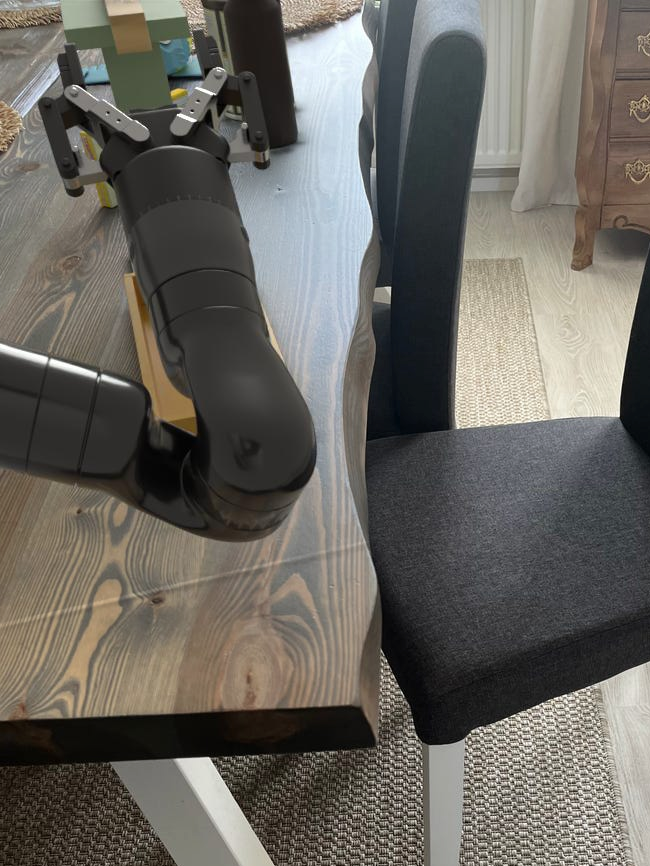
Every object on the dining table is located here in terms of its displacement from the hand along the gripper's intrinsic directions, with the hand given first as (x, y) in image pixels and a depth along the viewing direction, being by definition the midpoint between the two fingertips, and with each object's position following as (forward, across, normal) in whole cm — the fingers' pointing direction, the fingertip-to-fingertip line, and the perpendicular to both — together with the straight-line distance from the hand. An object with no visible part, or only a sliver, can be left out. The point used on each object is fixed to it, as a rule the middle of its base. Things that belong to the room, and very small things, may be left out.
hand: (136, 45), depth 69 cm
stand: (+8, 0, -36) cm, 37 cm away
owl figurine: (+65, +6, -69) cm, 95 cm away
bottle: (+38, +16, -53) cm, 66 cm away
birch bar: (+15, 0, -12) cm, 19 cm away
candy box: (+30, -1, -48) cm, 57 cm away
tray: (-10, 0, -25) cm, 27 cm away
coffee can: (+48, +16, -59) cm, 78 cm away
